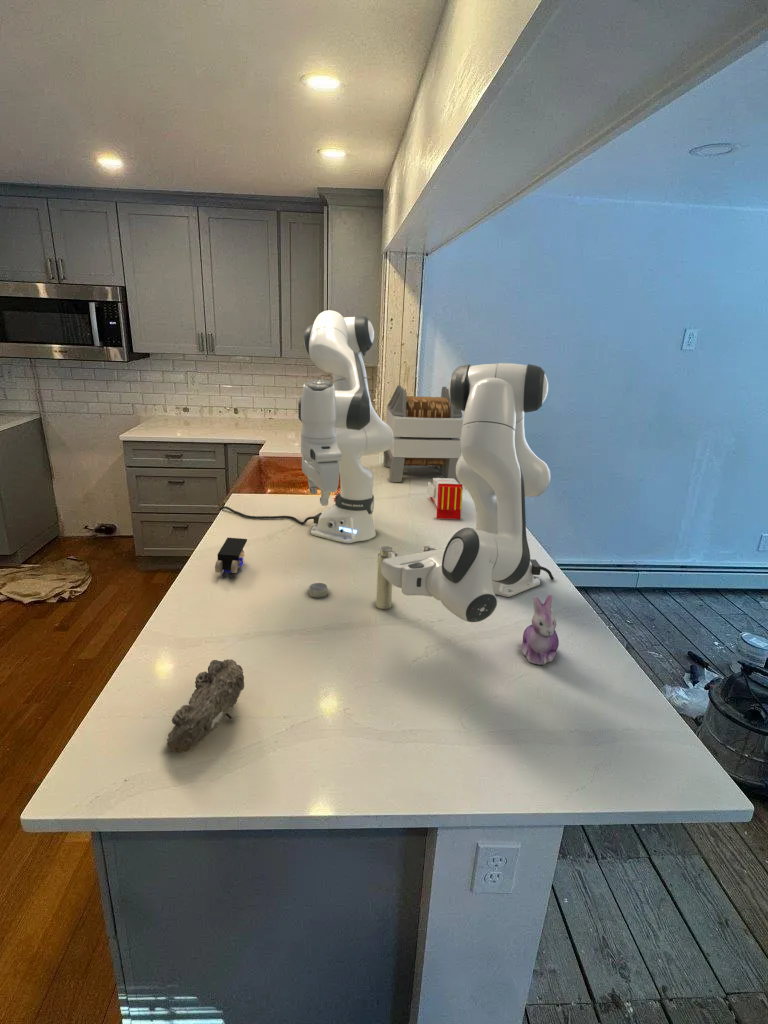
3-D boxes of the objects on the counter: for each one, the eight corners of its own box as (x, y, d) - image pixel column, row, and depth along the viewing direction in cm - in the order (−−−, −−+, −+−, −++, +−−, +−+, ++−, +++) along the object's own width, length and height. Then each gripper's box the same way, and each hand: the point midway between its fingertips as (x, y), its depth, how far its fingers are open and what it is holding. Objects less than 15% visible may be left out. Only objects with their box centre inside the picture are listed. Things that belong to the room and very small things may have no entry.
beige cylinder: (382, 600, 154) (385, 544, 149) (394, 605, 152) (397, 548, 146) (372, 605, 151) (375, 548, 146) (384, 610, 149) (387, 553, 143)
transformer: (382, 463, 289) (386, 382, 275) (445, 464, 293) (451, 384, 279) (390, 482, 257) (394, 392, 243) (460, 483, 261) (468, 394, 247)
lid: (312, 599, 153) (312, 592, 152) (306, 590, 157) (306, 584, 157) (329, 596, 155) (329, 589, 154) (324, 588, 159) (324, 581, 159)
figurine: (539, 671, 126) (548, 612, 121) (509, 647, 135) (517, 591, 130) (570, 661, 130) (580, 603, 125) (539, 638, 139) (548, 583, 134)
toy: (455, 474, 240) (467, 485, 211) (453, 505, 243) (464, 520, 214) (426, 473, 240) (434, 484, 211) (425, 504, 243) (432, 519, 213)
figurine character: (238, 584, 162) (249, 557, 175) (236, 562, 158) (247, 536, 172) (215, 584, 161) (227, 556, 175) (212, 561, 158) (225, 535, 171)
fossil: (192, 660, 117) (244, 628, 112) (224, 691, 120) (276, 661, 115) (142, 746, 98) (202, 712, 93) (182, 779, 101) (242, 748, 96)
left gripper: (295, 438, 150) (296, 488, 154) (318, 457, 132) (318, 512, 137) (318, 437, 152) (318, 486, 157) (344, 455, 135) (342, 510, 139)
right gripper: (479, 555, 127) (446, 533, 139) (399, 570, 118) (371, 545, 130) (477, 580, 129) (444, 556, 141) (398, 596, 120) (370, 570, 132)
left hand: (318, 499), depth 147 cm, fingers open, 8 cm apart
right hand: (408, 551), depth 135 cm, fingers open, 8 cm apart
